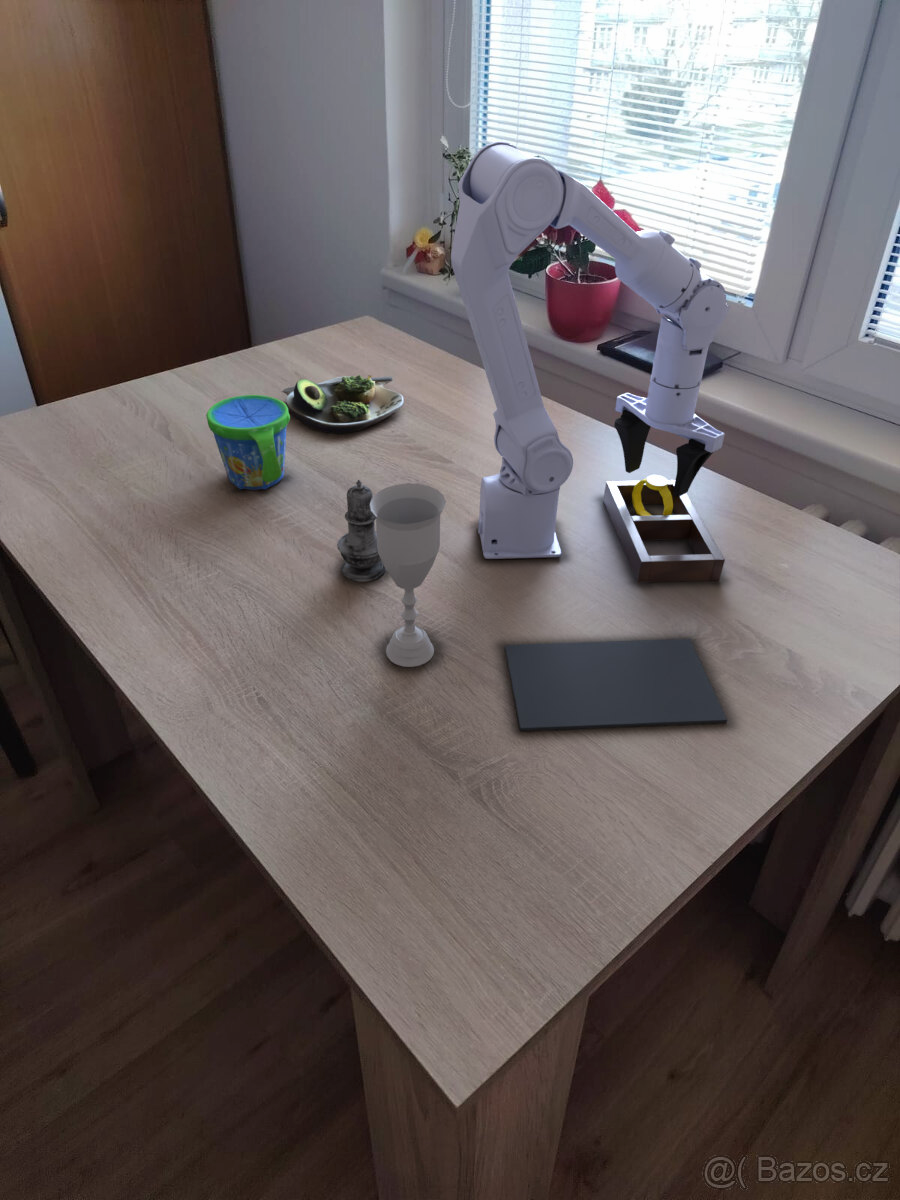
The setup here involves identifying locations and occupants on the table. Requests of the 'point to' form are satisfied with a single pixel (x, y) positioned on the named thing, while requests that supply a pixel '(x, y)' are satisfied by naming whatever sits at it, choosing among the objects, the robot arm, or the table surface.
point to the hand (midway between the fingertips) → (655, 481)
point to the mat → (610, 685)
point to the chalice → (408, 557)
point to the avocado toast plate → (342, 403)
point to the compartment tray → (662, 536)
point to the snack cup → (251, 439)
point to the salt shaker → (360, 538)
